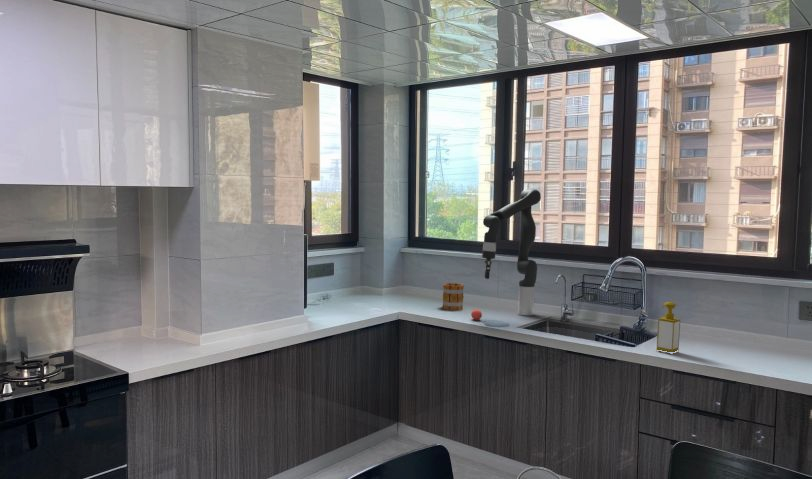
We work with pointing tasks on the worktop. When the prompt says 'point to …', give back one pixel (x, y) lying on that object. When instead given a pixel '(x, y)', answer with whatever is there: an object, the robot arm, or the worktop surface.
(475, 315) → the ball
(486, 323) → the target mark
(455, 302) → the brown wooden cylinder
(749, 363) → the worktop surface
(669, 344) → the soap bottle
